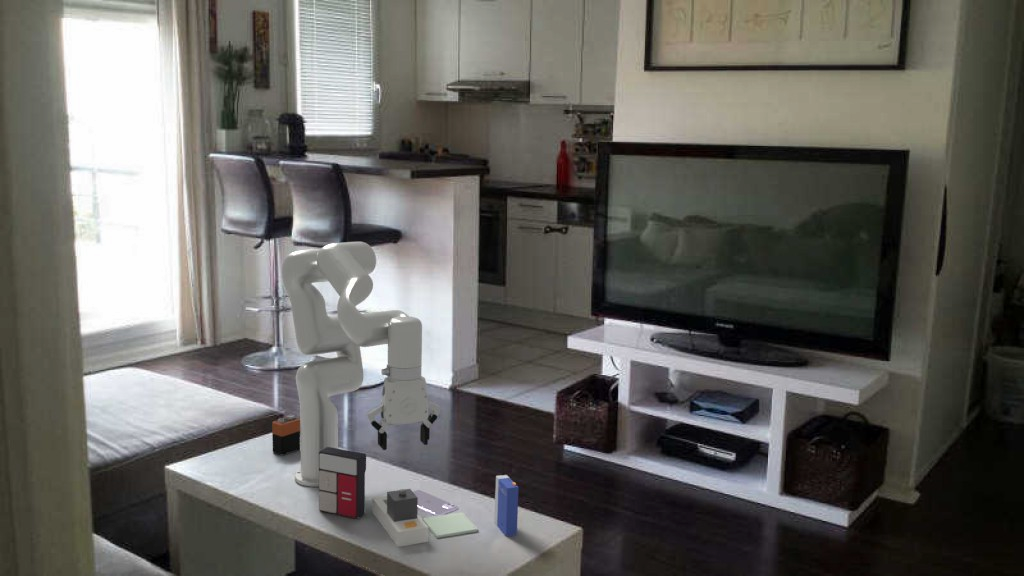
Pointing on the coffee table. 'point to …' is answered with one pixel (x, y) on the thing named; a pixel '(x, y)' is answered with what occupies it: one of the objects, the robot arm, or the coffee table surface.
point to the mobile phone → (433, 504)
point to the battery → (286, 435)
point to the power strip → (400, 525)
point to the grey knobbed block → (402, 505)
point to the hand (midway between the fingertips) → (403, 445)
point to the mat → (449, 525)
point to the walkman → (506, 505)
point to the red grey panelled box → (342, 482)
